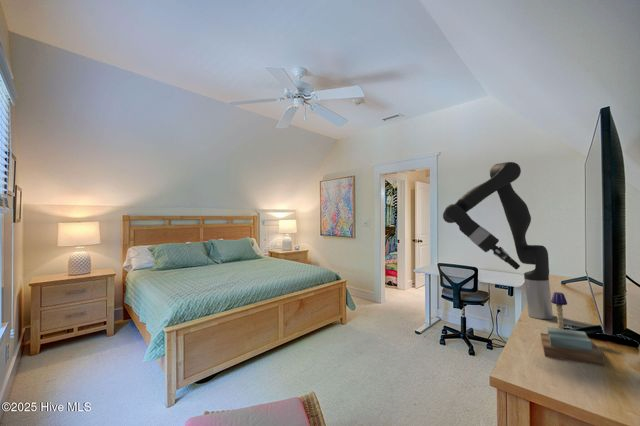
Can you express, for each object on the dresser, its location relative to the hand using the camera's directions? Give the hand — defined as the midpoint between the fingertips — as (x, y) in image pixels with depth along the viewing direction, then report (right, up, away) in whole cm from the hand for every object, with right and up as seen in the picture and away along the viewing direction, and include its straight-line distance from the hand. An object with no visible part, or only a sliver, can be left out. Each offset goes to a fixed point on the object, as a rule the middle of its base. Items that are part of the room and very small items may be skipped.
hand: (517, 266), depth 114 cm
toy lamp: (+12, -26, -8) cm, 29 cm away
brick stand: (+3, -25, -21) cm, 32 cm away
